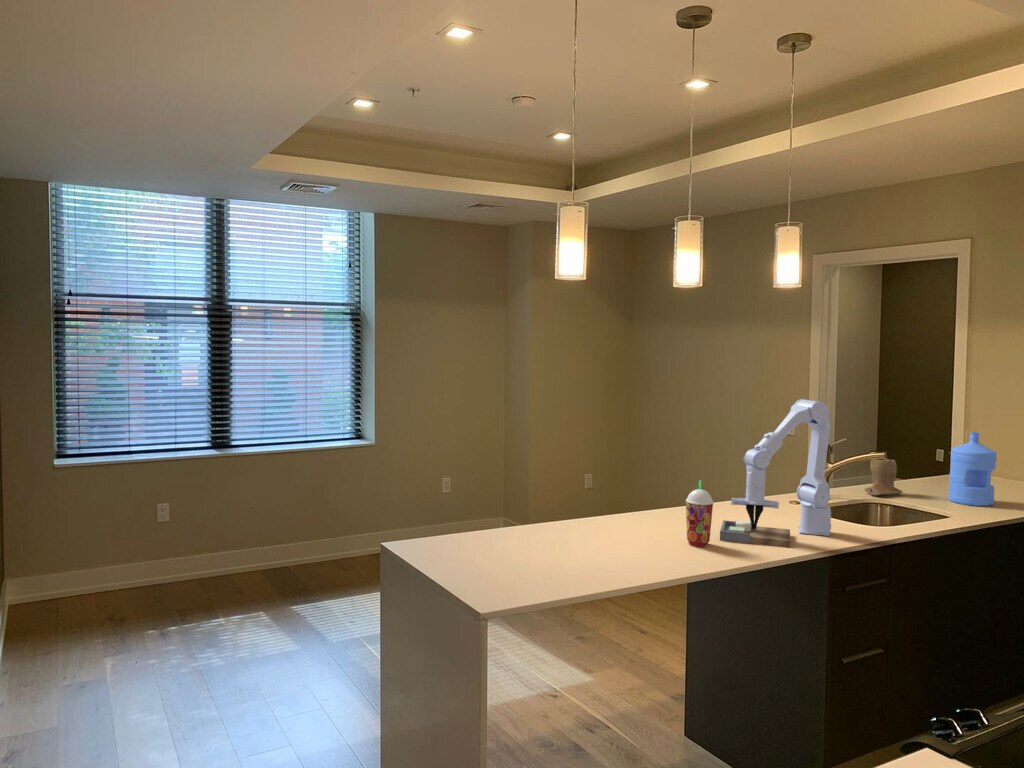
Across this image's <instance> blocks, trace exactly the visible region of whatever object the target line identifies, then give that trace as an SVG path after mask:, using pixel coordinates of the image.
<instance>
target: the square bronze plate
mask: <svg viewBox="0 0 1024 768" xmlns="http://www.w3.org/2000/svg"><path fill="white" fill-rule="evenodd" d="M791 542H792V541H791V529H789V528H778V527H769V526H759V525H757V526H756V529H752V526H751V532H750V543H749V544H754V545H763V546H775V547H781V548H782V547H785V548H791Z"/></svg>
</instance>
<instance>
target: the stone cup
mask: <svg viewBox="0 0 1024 768" xmlns="http://www.w3.org/2000/svg"><path fill="white" fill-rule="evenodd" d="M884 459H885V458H884ZM869 467H870V468H869V469H870V472H871V475H872V476H871V477H872V481H873V484H872V485H871V486H870V487H866V488H864V491H865V493H867V494H868V495H869V496H873V495H874V496H877V497H880V496H879V495H881V496H891V495H898V494H903V490H902V489H898V488H896V487H895V486H894V485H895V479H896V476H897V472H898V470H897V469H898V466H897V462H896V460H894V459H888V458H886V459H885V460H875V461H871V460H870V466H869Z"/></svg>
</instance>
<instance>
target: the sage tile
mask: <svg viewBox="0 0 1024 768" xmlns="http://www.w3.org/2000/svg"><path fill="white" fill-rule="evenodd" d="M729 531H732V532H743V533H744V528H743V527H732V526H730V528H729Z"/></svg>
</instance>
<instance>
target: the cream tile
mask: <svg viewBox="0 0 1024 768" xmlns="http://www.w3.org/2000/svg"><path fill="white" fill-rule="evenodd" d="M736 527H743V528H744V532H745V531H751V521H750V520H736Z"/></svg>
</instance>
